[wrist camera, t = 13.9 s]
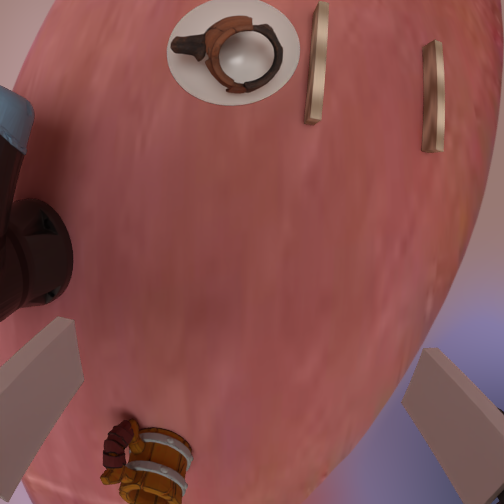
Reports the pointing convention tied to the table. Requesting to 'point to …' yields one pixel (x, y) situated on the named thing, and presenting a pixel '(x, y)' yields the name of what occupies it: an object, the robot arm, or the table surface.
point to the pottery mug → (213, 43)
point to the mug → (146, 464)
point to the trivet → (235, 52)
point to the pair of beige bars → (432, 82)
